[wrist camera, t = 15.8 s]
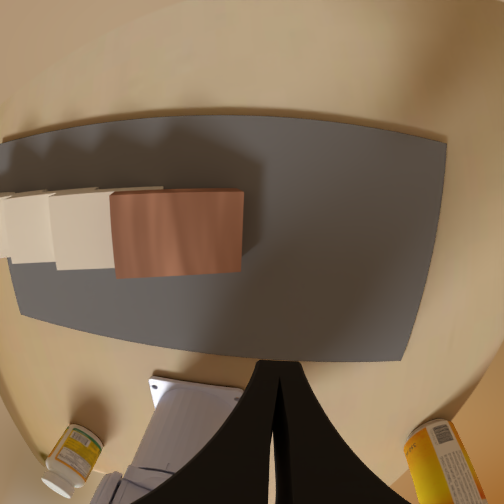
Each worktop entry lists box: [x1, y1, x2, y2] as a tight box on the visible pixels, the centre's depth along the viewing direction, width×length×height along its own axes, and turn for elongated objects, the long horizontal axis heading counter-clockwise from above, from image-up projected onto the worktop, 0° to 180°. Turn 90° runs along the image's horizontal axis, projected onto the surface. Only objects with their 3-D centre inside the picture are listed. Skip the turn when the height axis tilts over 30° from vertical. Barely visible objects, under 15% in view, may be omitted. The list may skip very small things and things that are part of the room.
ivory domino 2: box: [3, 187, 99, 264], centre depth 17 cm, size 2×4×7 cm
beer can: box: [404, 419, 488, 504], centre depth 17 cm, size 6×6×15 cm
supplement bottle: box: [42, 424, 103, 498], centre depth 24 cm, size 5×5×10 cm
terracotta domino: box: [109, 188, 244, 279], centre depth 16 cm, size 2×4×7 cm
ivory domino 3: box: [48, 186, 163, 270], centre depth 16 cm, size 2×4×7 cm
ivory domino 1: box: [0, 189, 47, 258], centre depth 17 cm, size 2×4×7 cm
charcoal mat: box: [0, 115, 447, 362], centre depth 19 cm, size 16×34×1 cm, turn 87°
